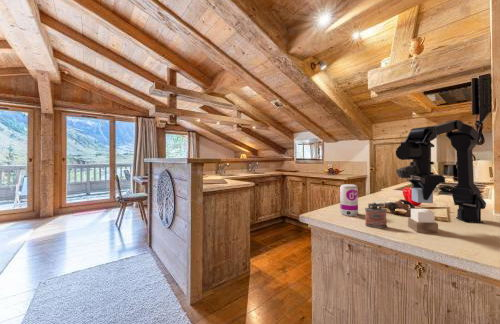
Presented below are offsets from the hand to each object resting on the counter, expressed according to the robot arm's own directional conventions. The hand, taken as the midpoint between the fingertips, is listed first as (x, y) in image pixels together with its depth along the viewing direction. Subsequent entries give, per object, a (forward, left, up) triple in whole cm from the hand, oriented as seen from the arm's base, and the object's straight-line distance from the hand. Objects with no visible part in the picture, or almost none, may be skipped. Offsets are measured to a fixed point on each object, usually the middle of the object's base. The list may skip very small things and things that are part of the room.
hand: (422, 198), depth 87 cm
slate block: (0, 0, -1) cm, 1 cm away
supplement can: (+23, -20, -13) cm, 33 cm away
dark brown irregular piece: (-1, -24, -13) cm, 27 cm away
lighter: (+16, -2, -13) cm, 21 cm away
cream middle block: (0, 0, -9) cm, 9 cm away
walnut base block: (0, 0, -13) cm, 13 cm away
